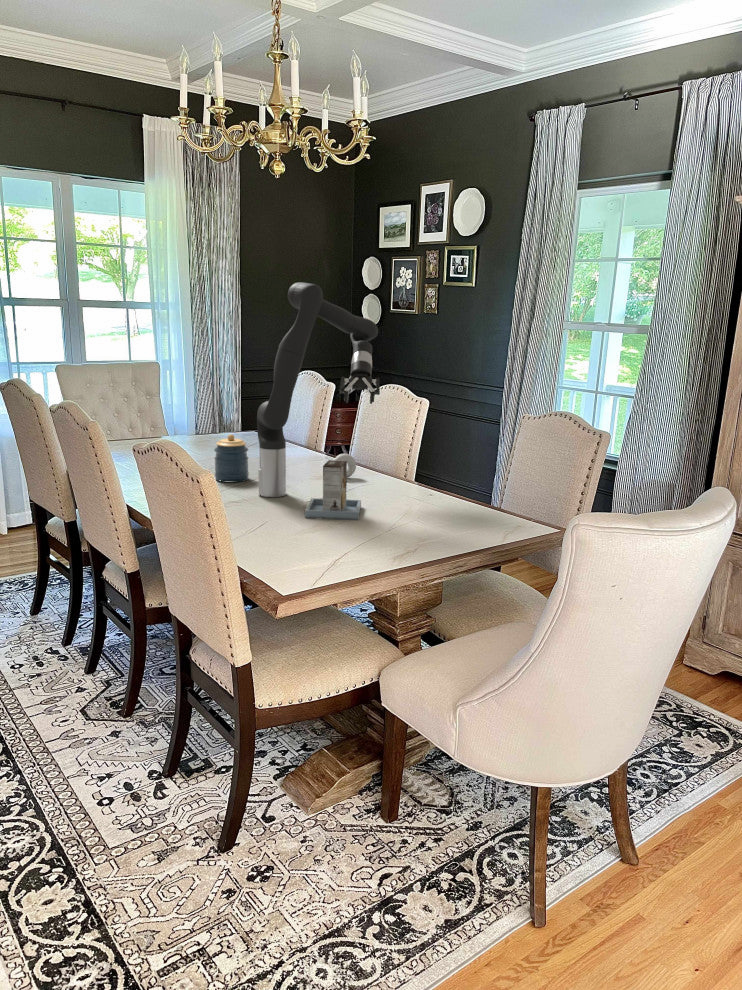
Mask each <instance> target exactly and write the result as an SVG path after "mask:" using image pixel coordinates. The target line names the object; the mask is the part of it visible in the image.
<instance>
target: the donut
mask: <svg viewBox="0 0 742 990" xmlns="http://www.w3.org/2000/svg"><path fill="white" fill-rule="evenodd" d="M333 460H334V461H347V479H348V478H350V477H351V476H353V474H355V472H356V470H357V461H356V459H355V458H354V457H353V455H350V454H348V453H340V454H338V455H336V457H335V458H333Z"/></svg>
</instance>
